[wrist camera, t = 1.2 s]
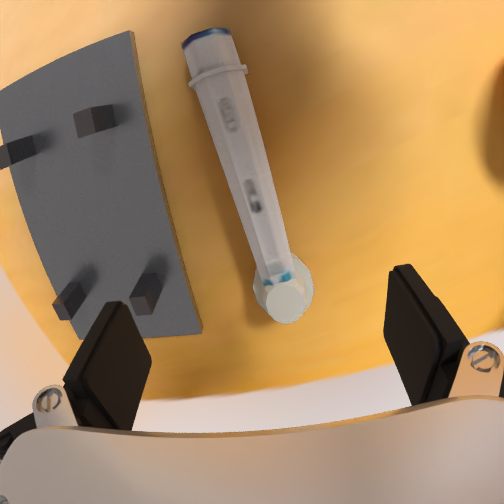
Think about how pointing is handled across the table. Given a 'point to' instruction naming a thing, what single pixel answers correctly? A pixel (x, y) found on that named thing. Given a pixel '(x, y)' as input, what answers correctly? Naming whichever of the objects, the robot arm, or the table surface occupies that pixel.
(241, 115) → the white handheld device
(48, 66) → the peg stand
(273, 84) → the table surface
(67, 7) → the table surface
